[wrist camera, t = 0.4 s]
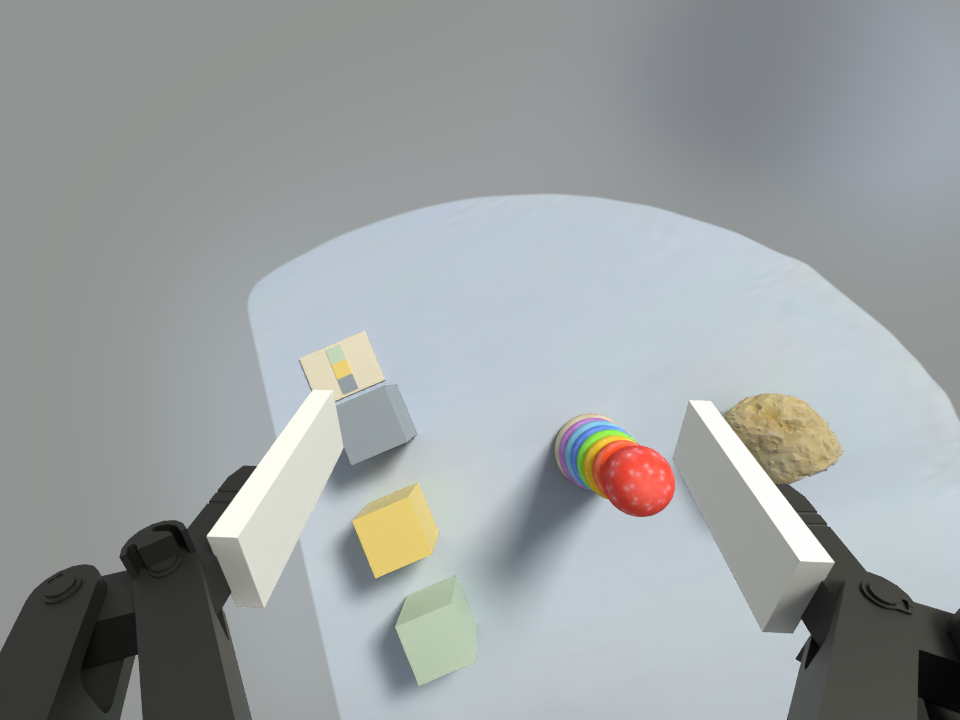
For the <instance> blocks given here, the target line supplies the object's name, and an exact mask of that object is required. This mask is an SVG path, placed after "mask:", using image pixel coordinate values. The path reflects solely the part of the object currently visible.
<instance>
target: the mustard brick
mask: <svg viewBox="0 0 960 720" xmlns="http://www.w3.org/2000/svg"><path fill="white" fill-rule="evenodd" d="M352 522H353V524H354V527H355V529H356V532H357V534H358V537H359V539H360V542H361V544H362V547H363V549H364V552H365V554H366V556H367V559H368V561H369V564H370V566H371V569H372V571H373V574H374V576H375V578H378V577H380V576H382V575H385V574H387V573H389V572H392V571H394V570H396V569H399V568H401V567H403V566H406V565H408V564H410V563H413V562H415V561H418V560H420V559H422V558H425V557H427V556H429V555H432V553H433V550H434V547H435V543H436V540H437V537H438V534H439V532H438V529H437V527H436V524H435V522H434V519H433V517H432V515H431V512H430V510H429V507H428V505H427V503H426V500H425V498H424V495H423V493H422V491H421V488H420V486H419V483H415V484H413V485H411V486H408V487H406V488H403V489H401V490H399V491H396V492H394V493H392V494H389V495H387V496H385V497H382V498H380V499H378V500H375V501H373V502H371V503H369V504H368V505H367V506H366V507H365V508H364V509H363V510H362V511H361V512H360V513H359V514H358V515H357V516H356V517H355V518H354V519H353V520H352Z"/></svg>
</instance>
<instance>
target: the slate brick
mask: <svg viewBox="0 0 960 720" xmlns="http://www.w3.org/2000/svg"><path fill="white" fill-rule="evenodd" d="M336 409H337V414H338V420H339V425H340V431H341V436H342V442H343V446H344V448H345V451H346V453H347V456H348V458H349V461H350V463H351V466H352V465H354V464H356V463H359V462H361V461H363V460H366V459H368V458H371V457H373V456H375V455H378V454H380V453H382V452H385V451H387V450H389V449H392V448H394V447H396V446H399V445H401V444H403V443H406V442H408V441H409V440H410V439H411V438H413V437H414V436H415V435H416V434H417V432H416V429H415V427H414V425H413V422H412V420H411V417H410V415H409V413H408V410H407V408H406V405H405V403H404V401H403V398H402V396H401V393H400V391H399V389H398V386H397V385H385V386H382V387H380V388H377V389H375V390H373V391H370V392H368V393H366V394H363V395H361V396H359V397H356V398H354V399H352V400H349V401H347V402H345V403H342V404H340V405H338V406H336Z"/></svg>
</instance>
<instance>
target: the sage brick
mask: <svg viewBox="0 0 960 720" xmlns="http://www.w3.org/2000/svg"><path fill="white" fill-rule="evenodd" d="M395 628H396V631H397V633H398V636H399V638H400V641H401V643H402V646H403V648H404V651H405V653H406V656H407V658H408V660H409V663H410V665H411V668H412V670H413V673H414V675H415V678H416V680H417V683H418V685H419V686H420V685H423V684H425V683H427V682H430V681H432V680H435V679H437V678H439V677H442V676H444V675H446V674H449V673H451V672H453V671H456V670H458V669H460V668H463V667H465V666H467V665H470V664H472V663H475V662H476V655H477V631H478V626H477V623H476V621H475V619H474V616H473V614H472V611H471V609H470V607H469V604H468V602H467V599H466V597H465V594H464V592H463V590H462V587H461V585H460V582H459V580H458V578H457V575H455V576H453V577H450V578H448V579H446V580H443V581H441V582H439V583H436V584H434V585H432V586H429V587H427V588H425V589H422V590H420V591H418V592H415V593H413V594H411V595H408V596H406V599H405V602H404V604H403V607H402V610H401V612H400V615H399V618H398V621H397V623H396V626H395Z"/></svg>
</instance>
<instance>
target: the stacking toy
mask: <svg viewBox="0 0 960 720" xmlns="http://www.w3.org/2000/svg"><path fill="white" fill-rule="evenodd" d="M555 458H556V462H557V464H558V467H559V469H560V470H561V472H562V473H563V474H564V475H565V476H566V477H567V478H568V479H569V480H570V481H572V482H573V483H574V484H576V485H577V486H579V487H581V488H583V489H586V490H591V491H593V492H595V493H597V494H598V495H600V496H601V497H603V498H606V499H609V500H610V502H611V503H612V504H613V505H614V506H615V507H616V508H617V509H619V510H620V511H622V512H624V513H626V514H628V515H632V516H637V517H646V516H652V515H654V514H657V513H659V512H660V511H662V510H663V509H664V508H665V507H666V506H667V505H668V504H669V503H670V501H671V499H672V497H673V494H674V490H675V478H674V474H673V471H672V469H671V467H670V465H669V463H668V462H667V461H666V459H665V458H664V457H662V456H661V455H660V454H659V453H658V452H656V451H655V450H653V449H650V448H648V447H644V446H640V445H639V444H638V443H637V442H636V441H635V440H634V439H633V438H632V437H631V436H630V435H629V434H628V433H627V432H626V431H625V430H623V429H622V428H621V427H619V426H618V425H617V424H616V423H615V422H614V421H612V420H611V419H609V418H607V417H605V416H603V415H599V414H583V415H579V416H577V417H575V418H573V419H571V420H570V421H568V422H567V423H566V424H565V425H564V426H563V427H562V429H561V430H560V432H559V434H558V436H557V438H556V442H555Z"/></svg>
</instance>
